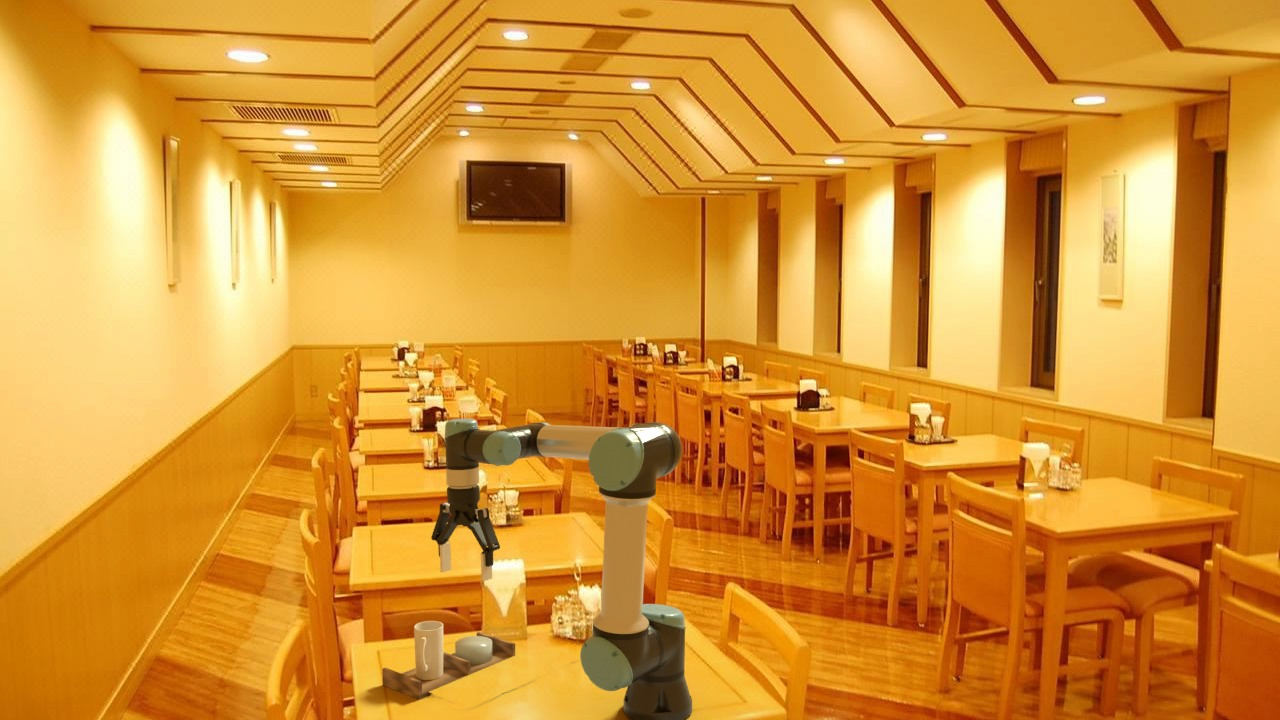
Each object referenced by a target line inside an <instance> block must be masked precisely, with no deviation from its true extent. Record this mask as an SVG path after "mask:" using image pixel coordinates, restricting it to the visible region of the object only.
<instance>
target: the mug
mask: <svg viewBox="0 0 1280 720" xmlns="http://www.w3.org/2000/svg"><path fill="white" fill-rule="evenodd" d="M413 626H414V627H413V628H414V630H413V635H414V658H415V659H414V661H415V668H416V677H417V678H418V679H421V680H434V679H437V678H440V677H441V676H442V675H443V652H444V623H443V622H441V621H436V620H425V621H421V622H417V623H416V624H415V625H413Z"/></svg>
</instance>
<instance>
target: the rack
mask: <svg viewBox="0 0 1280 720" xmlns="http://www.w3.org/2000/svg"><path fill="white" fill-rule="evenodd" d="M476 636H482V637H487V638H490V639H491V640H492V660H491V661H489V662H487V663H485V664H481V665H472V666H471V661H468V660H465V659H462V658H459V657H456V656H455V652H454V653H453V652H452V653H448V652H445V651H443V675H442V676H441V677H440V678H437V679H434V680H421V679H418V678H417V677H416V667H414V668H413V669H410V670H407V671H405V672H402V673H401V672H398V671H396V670H393V669H390V668H388V667H383V668H381V669H382V675H381V677H382V686H383V687H386V688H389V689H391V690H394V691H396V692H399V693H402V694H403V695H407V696H409V697H411V698H414V699H417V700H419V701H420V700H422V699H425V698H427V697H429V696H431V695H433V693H432V692H431V691H434V690H436V689H439V688H441V687H443V686H446V685H449V684H450V683H453V682H456V681H458V680H461V679H463V678H465V677H468V676H470V675H473V674H474V673H477V672H479V671H481V670H485V669H486V668H489V667H491V666H494V665H496V664H499V663H501V662H503V661H506V660H507V659H511V658H513V657H516V643H515V642H512V641H508V640H506V639H502V638H500V637H496V636H493V635H489V634H487V633H483V632H481V631H478V632H477V631H476Z"/></svg>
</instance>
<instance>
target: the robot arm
mask: <svg viewBox="0 0 1280 720" xmlns="http://www.w3.org/2000/svg"><path fill="white" fill-rule="evenodd" d="M444 427H445V429H444V444H445V446H444V447H445V470H446V471H445V473H446V474H445V476H446V477H445V478H446V481H445V482H446V486H447V488H446V500H447V501H446V502H443V503H441V504H439V514H438V516H437V519H436V523H435V526H434V528H433V531H432V534H431V540H432V541H435V542H436V543H437V545H438V546H437V548H438V557H439V563H440V564H439V565H440V568H439V569H440V573H445V572H448V571H451V570H452V555H451V554H452V552H451V551H452V550H451V542H449V541H450V539H451V536H452V535H453V533H454V532H455V530H456V529H457V527H458V526H463V527H467V528H468V529H469V530H470V531H471V532H472V535H473V536H474V537H475V540H476V541H477V543H478V545H479V547H480V548H481V549H482V551H481V552H480V570H481V571H480V573H481V574H480V577H481V582H486V581H489V580H491V579H493V565H494V552H495V551H497V550H500V549H501V545H500V542H499V540H498V537H497V534H496V531H495V529H494V527H493V524H492V521H491V518H490V511H489V508H487V507H484V508H479V505H478V504H479V502H480V500H481V495H480V494H481V491H480V489H481V487H480V486H479V485H478V484H479V483H480V470H479V469H480V468H479V467H480V464H487V465H493V466H496V467H500V466H506V467H507V466H511V465H513V464H514V463H515V462H516V461H517V460H520V459H521V460H522V459H525V458H531V457H532V458H533V457H539V458H540V457H541V458H557V459H558V458H559V459H574V460H587V461H588V469H589V473H590V475H591V476H593V478H592V479H593V481H594V482H595V484H596V485H597V486H598V493H599V495H600V496H601V497H602V498H603V499H604V501H605V508H604V509H605V510H604V511H605V512H604V513H605V514H604V515H605V516H604V535H603V558H602V560H603V561H602V578H601V579H602V580H601V581H602V582H601V602H600V605H601V606H600V612H599V613H597V614H596V615H595V616H594V617H593V620H592V637H588V638H587V639H586V641H585V642H583V644H582V646H581V649H580V655H579V656H580V657H579V658H580V663H581V667H582V669H583V672H584V673H585V675H586V676H587V677H588V679H589V680H590V681H591V683H592V684H594V686H595V687H597V688H598V689H600V690H603V691H607V692H615V691H619V690H620V689H625V688H626V691H625V693H624V694H625V695H624V697H623V713H624V714H625V716H626V717H628V719H631V720H683V719H685V720H686V719H688V718H689V717H690V716H691V715H692V713H693V699H692V697H691V694H690V691H689V688H688V687H689V686H688V683H687V680H686V677H685V676H686V675H685V665H686V662H685V658H686V657H685V656H686V652H685V651H686V650H685V647H686V645H685V643H686V629H687V628H686V623H685V622H686V621H685V615H684V613H683V612H682V611H681V610H680V609H678V608H677V607H673V606H671V605H666V604H658V603H644V584H645V568H646V567H645V565H646V546H647V527H648V524H647V523H648V507H649V506H648V505H649V502H650V501H651V500H653V498H655V497H656V494H657V479H659V478H661V477H662V478H663V477H664V476H667V475H669V474H670V473H672V472H673V471H674V470H675V469H676V468H677V467H678V465H679V464H680V461H681V459H682V455H683V446H682V445H683V444H682V441H681V438H680V436H679V434H678V433H677V432H676V430H675V429H673V428H672V427H671V426H670V425H668V424H666V423H664V422H659V421H658V422H657V421H651V422H647V423H633V424H632V425H630V426H627V427H614V426H613V427H611V426H610V427H609V426H589V425H588V426H587V425H564V424H563V425H562V424H560V425H559V424H557V425H556V424H550V423H548V422H532V423H528V424H523V425H518V426H512V427H506V428H499V429H495V430H489V429H488V430H487V429H479V425H478V421H477V420H476V419H474V418H454V419H450V420H447V422H445V426H444ZM479 463H480V464H479ZM690 714H691V715H690ZM689 715H690V716H689ZM688 716H689V717H688ZM687 717H688V718H687Z"/></svg>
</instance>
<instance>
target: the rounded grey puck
mask: <svg viewBox="0 0 1280 720" xmlns="http://www.w3.org/2000/svg"><path fill="white" fill-rule="evenodd" d="M454 644H455V645H454V646H455V647H454V648H455V649H454V650H455V651H454V653H455V656H456V657H459V658H462V659H465V660H468V661H471V666H472V665H481V664H485V663H487V662H489V661H491V660H492V640H491V639H490V638H487V637H482V636H477V635H472V636H470V635H469V636H465V637H462V638H460V639H458V640H456V642H455V643H454Z"/></svg>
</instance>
